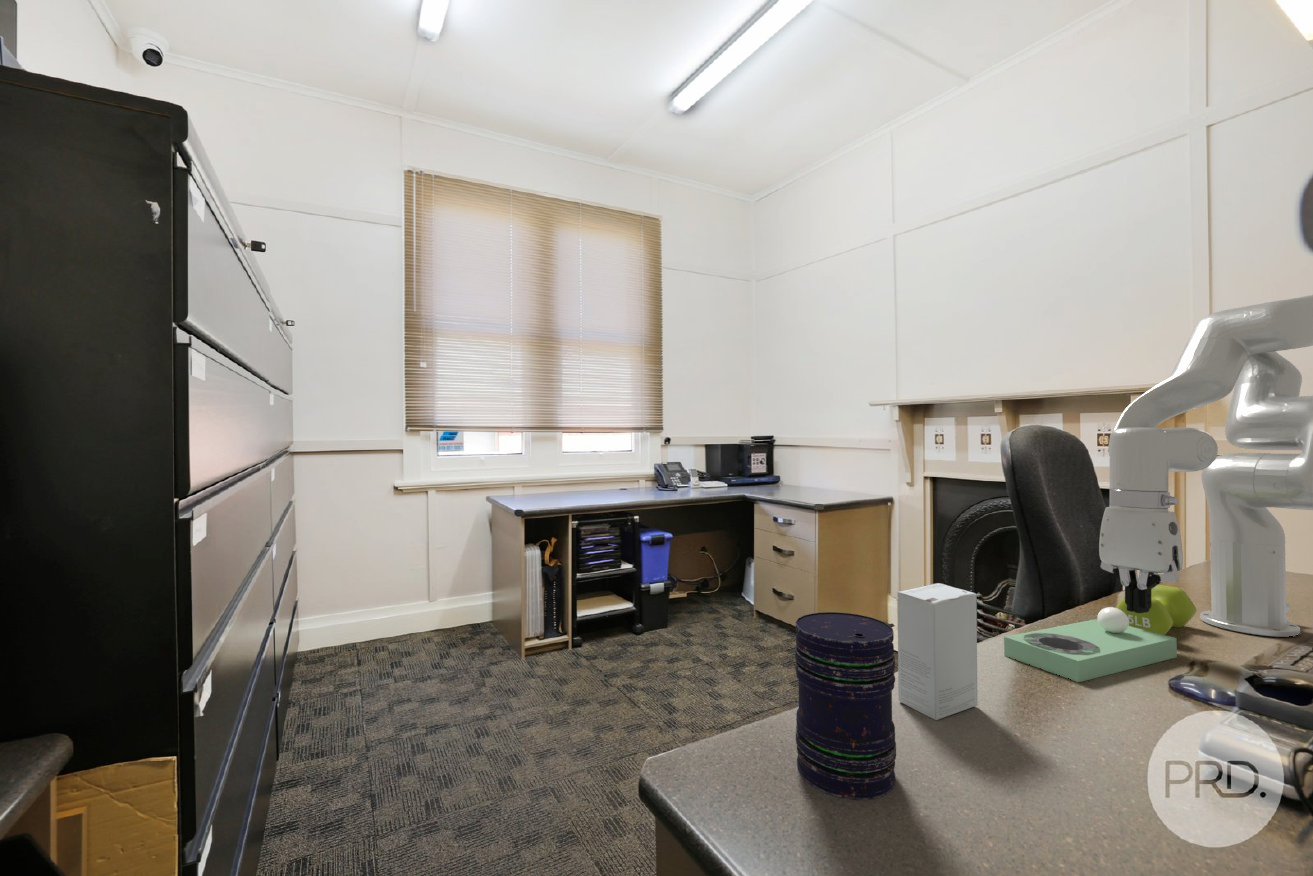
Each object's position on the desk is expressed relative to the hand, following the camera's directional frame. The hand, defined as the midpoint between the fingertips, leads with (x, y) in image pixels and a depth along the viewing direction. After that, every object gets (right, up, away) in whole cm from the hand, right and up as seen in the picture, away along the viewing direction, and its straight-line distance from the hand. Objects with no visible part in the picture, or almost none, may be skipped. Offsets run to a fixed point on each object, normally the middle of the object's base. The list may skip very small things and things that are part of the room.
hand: (1137, 611), depth 94 cm
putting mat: (-12, -6, -5) cm, 14 cm away
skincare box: (-44, -6, -21) cm, 49 cm away
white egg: (-6, -1, -3) cm, 7 cm away
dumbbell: (+9, -6, +7) cm, 13 cm away
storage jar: (-61, -6, -36) cm, 71 cm away
